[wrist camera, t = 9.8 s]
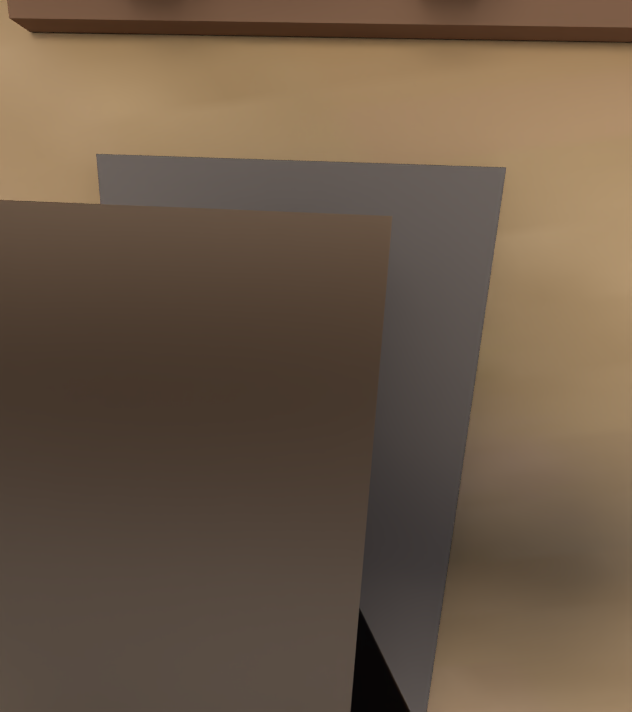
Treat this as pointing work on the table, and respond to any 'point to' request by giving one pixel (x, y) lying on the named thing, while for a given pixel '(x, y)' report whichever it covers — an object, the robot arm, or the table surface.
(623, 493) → the table surface
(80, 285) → the plywood sheet
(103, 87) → the table surface
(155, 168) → the slate mat
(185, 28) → the offcut rack
